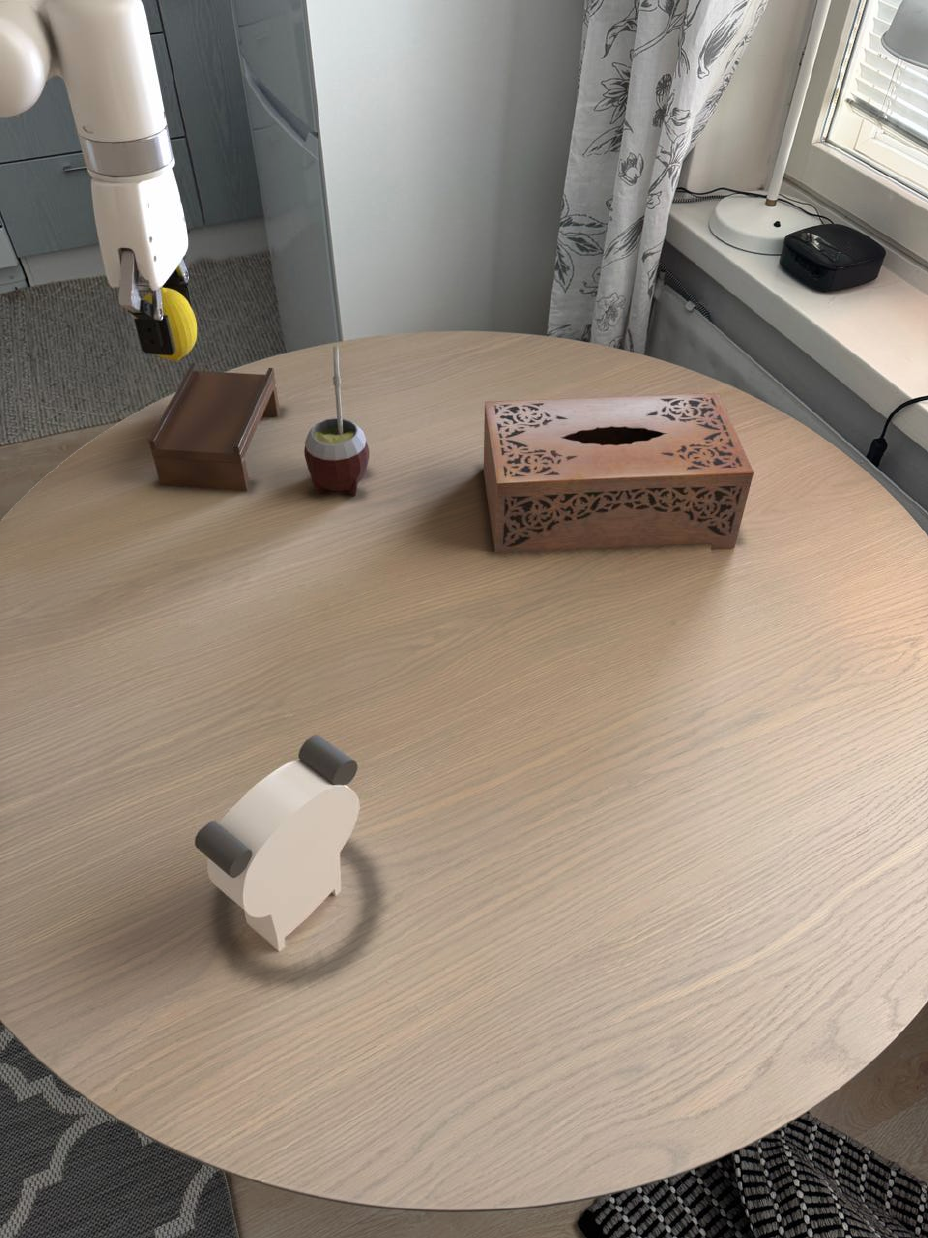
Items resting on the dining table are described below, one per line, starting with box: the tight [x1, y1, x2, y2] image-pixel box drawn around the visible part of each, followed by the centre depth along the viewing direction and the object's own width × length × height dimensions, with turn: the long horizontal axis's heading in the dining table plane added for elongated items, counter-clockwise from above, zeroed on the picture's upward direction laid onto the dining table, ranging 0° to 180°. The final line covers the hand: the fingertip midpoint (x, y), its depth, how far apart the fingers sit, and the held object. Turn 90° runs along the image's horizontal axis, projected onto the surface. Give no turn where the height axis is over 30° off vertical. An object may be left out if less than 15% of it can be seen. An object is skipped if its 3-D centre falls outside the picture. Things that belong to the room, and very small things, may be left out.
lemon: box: [141, 287, 198, 362], centre depth 99 cm, size 6×6×8 cm
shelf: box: [148, 362, 281, 492], centre depth 116 cm, size 10×16×7 cm, turn 174°
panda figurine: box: [194, 734, 361, 952], centre depth 72 cm, size 12×11×15 cm
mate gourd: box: [303, 345, 370, 497], centre depth 108 cm, size 8×8×15 cm
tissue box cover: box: [483, 392, 755, 553], centre depth 107 cm, size 26×14×10 cm, turn 94°
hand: (169, 334), depth 100 cm, fingers closed on lemon, 5 cm apart
